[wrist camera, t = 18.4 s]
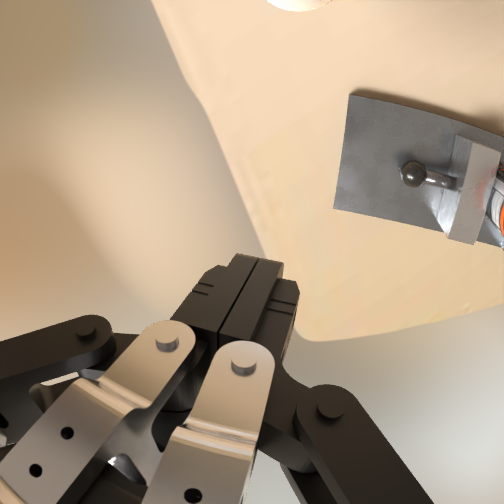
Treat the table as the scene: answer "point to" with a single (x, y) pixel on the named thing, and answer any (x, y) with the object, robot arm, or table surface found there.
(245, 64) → the table surface
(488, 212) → the supplement bottle
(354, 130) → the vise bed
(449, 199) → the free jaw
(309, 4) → the cylinder with rectangular tab
